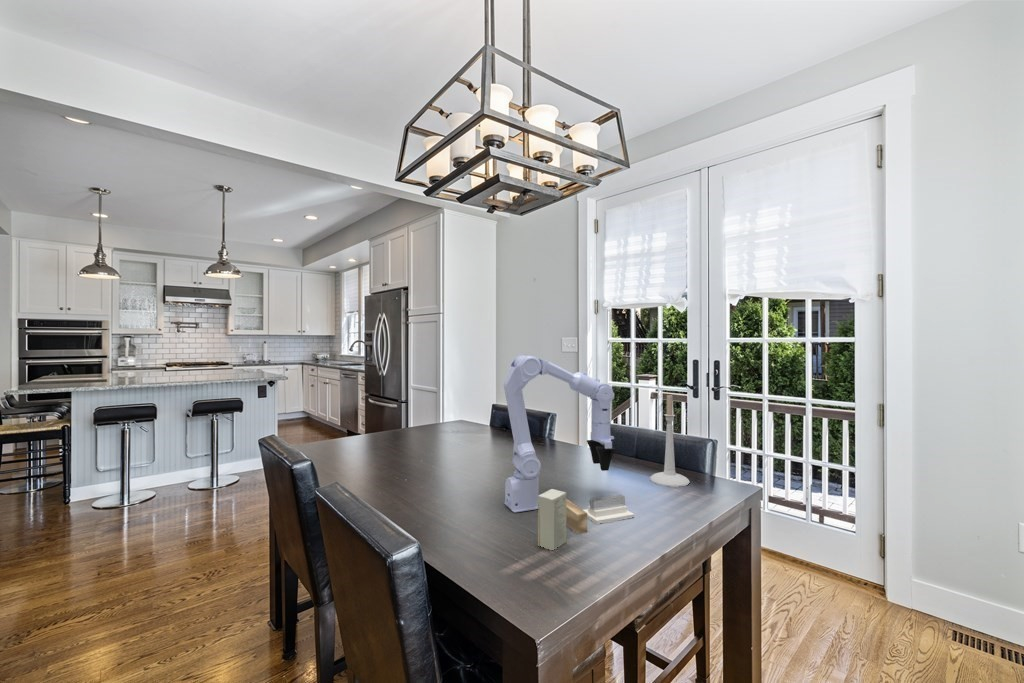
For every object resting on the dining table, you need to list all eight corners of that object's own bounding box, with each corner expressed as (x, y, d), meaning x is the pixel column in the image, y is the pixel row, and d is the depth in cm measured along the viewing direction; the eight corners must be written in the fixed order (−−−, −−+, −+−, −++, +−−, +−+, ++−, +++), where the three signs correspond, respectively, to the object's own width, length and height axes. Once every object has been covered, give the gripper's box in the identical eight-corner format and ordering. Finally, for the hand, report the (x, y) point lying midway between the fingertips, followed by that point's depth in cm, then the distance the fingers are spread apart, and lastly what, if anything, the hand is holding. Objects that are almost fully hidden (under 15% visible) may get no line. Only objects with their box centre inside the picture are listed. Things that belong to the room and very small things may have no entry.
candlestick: (695, 487, 148) (695, 396, 148) (656, 487, 149) (656, 396, 149) (681, 475, 161) (681, 392, 161) (645, 475, 161) (645, 391, 161)
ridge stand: (596, 524, 119) (596, 505, 119) (581, 513, 126) (581, 495, 126) (634, 517, 123) (634, 499, 123) (617, 507, 131) (617, 490, 131)
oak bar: (577, 534, 113) (577, 514, 113) (552, 514, 126) (552, 496, 126) (587, 532, 114) (587, 513, 114) (561, 512, 127) (561, 495, 127)
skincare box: (552, 537, 111) (552, 488, 111) (567, 542, 108) (567, 492, 108) (537, 546, 106) (536, 494, 106) (552, 552, 103) (552, 499, 103)
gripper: (622, 426, 131) (621, 473, 131) (605, 418, 145) (605, 460, 146) (598, 427, 130) (598, 474, 130) (584, 418, 145) (584, 460, 145)
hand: (600, 466), depth 138 cm, fingers open, 7 cm apart
